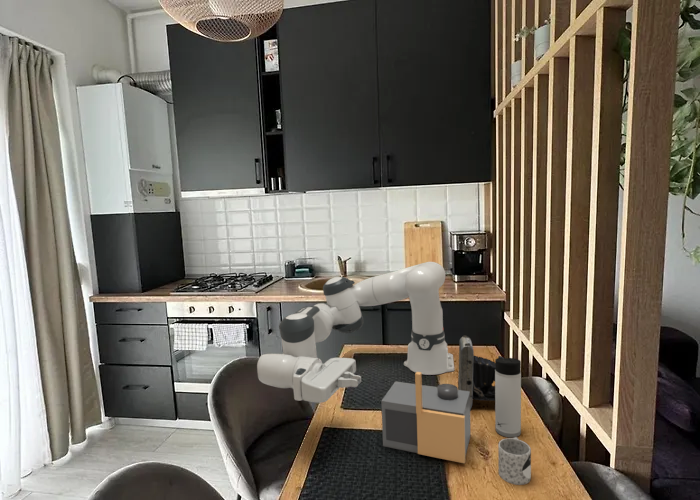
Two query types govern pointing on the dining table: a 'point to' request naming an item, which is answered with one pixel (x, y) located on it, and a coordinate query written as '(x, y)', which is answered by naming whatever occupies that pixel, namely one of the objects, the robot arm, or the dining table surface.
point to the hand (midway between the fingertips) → (359, 381)
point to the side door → (439, 430)
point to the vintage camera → (475, 373)
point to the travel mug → (508, 397)
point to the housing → (403, 416)
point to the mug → (514, 461)
